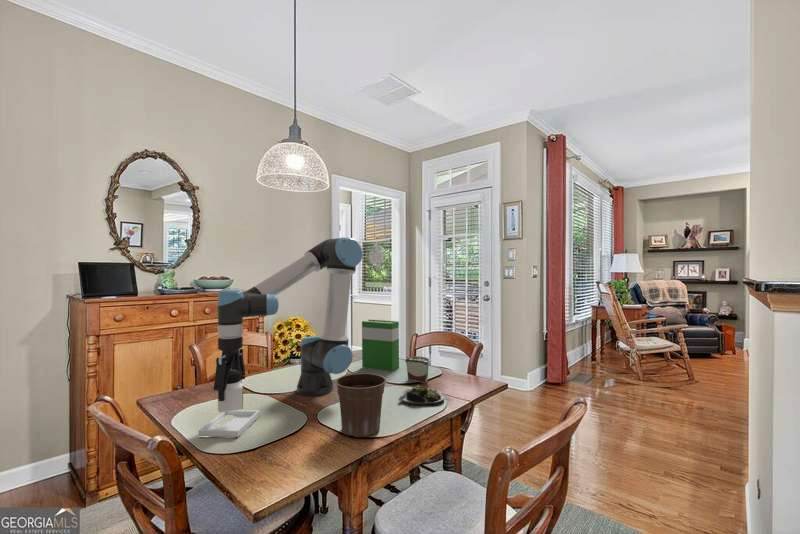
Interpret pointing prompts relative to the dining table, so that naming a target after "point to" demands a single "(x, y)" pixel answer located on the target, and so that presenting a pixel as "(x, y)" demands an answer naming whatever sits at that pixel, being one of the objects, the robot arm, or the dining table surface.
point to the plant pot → (360, 403)
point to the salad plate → (421, 396)
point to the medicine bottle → (234, 392)
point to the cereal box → (380, 345)
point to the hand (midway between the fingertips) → (230, 404)
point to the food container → (417, 368)
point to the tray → (230, 424)
